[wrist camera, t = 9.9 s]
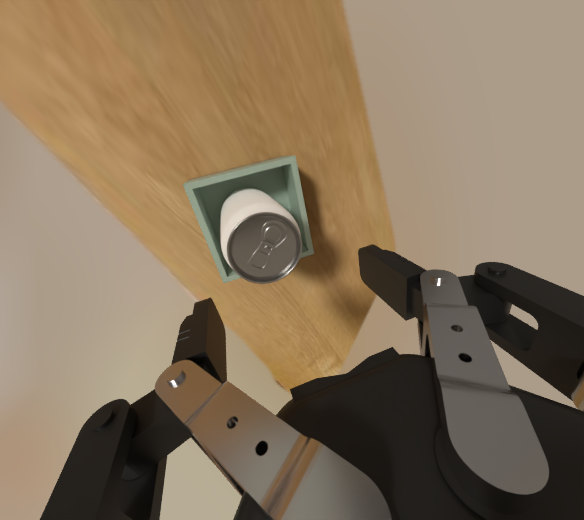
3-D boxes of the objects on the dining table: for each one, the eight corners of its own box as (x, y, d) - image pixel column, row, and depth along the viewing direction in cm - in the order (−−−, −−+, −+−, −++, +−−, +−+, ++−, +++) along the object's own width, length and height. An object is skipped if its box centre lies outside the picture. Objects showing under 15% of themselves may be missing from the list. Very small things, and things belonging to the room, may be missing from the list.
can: (285, 203, 28) (322, 230, 18) (260, 248, 30) (282, 299, 19) (235, 175, 26) (245, 188, 15) (211, 227, 27) (205, 271, 17)
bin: (189, 179, 25) (182, 184, 21) (283, 155, 27) (295, 155, 22) (223, 264, 30) (223, 283, 26) (301, 240, 32) (314, 253, 27)
